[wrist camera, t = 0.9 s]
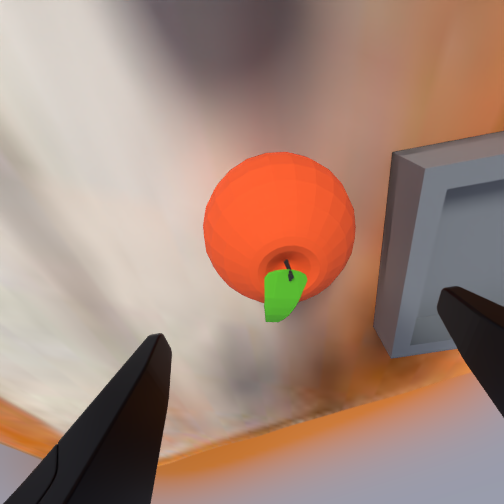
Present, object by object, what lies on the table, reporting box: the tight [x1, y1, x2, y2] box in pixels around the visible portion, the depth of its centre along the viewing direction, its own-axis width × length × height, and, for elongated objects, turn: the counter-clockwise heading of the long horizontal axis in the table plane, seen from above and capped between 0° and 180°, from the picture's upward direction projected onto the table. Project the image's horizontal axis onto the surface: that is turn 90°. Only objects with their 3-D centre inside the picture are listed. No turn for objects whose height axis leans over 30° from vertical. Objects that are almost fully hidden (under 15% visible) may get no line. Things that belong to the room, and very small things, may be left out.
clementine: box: [203, 152, 356, 322], centre depth 13 cm, size 8×7×7 cm
